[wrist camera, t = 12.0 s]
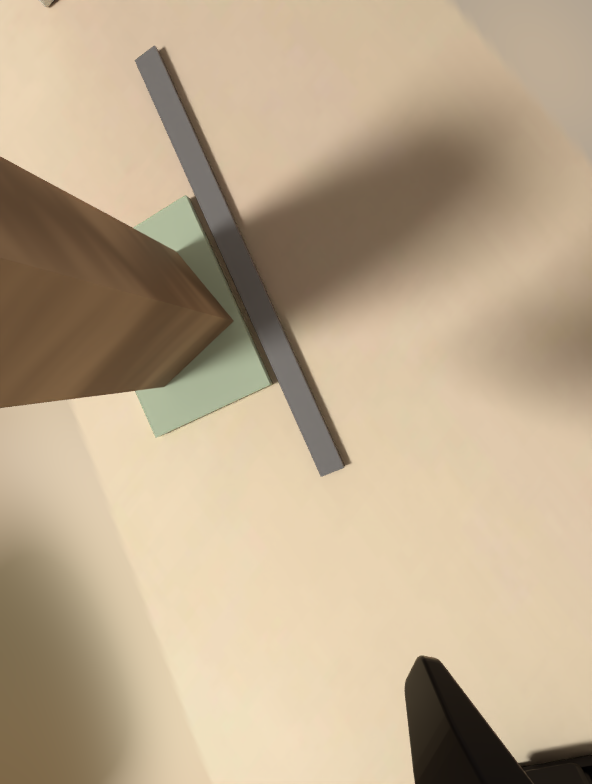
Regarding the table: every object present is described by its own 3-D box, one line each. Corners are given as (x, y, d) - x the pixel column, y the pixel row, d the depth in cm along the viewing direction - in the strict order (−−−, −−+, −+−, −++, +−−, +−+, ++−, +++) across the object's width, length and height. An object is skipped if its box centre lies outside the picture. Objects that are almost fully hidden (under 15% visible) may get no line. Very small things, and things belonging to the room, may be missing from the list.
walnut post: (233, 321, 18) (-84, 235, 6) (164, 387, 19) (-234, 437, 7) (176, 251, 19) (-244, 24, 6) (111, 320, 20) (-364, 250, 7)
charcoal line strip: (344, 466, 18) (344, 467, 18) (321, 474, 19) (320, 476, 18) (158, 50, 18) (154, 45, 18) (138, 64, 19) (134, 60, 18)
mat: (272, 384, 19) (270, 384, 18) (160, 436, 20) (155, 437, 20) (189, 198, 19) (185, 195, 18) (83, 264, 20) (77, 262, 20)
